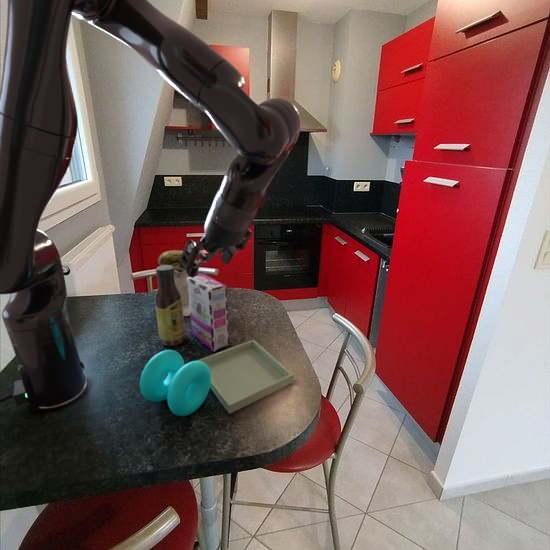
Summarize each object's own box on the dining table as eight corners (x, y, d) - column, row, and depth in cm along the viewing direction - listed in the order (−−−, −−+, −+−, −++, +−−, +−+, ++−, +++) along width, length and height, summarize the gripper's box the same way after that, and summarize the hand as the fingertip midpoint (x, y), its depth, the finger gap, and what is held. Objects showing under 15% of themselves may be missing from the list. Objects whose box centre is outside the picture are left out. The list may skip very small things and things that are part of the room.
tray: (229, 414, 60) (228, 405, 59) (195, 368, 72) (195, 361, 71) (293, 382, 68) (293, 374, 67) (253, 346, 80) (253, 339, 79)
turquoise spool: (179, 430, 56) (173, 385, 53) (140, 409, 61) (132, 366, 57) (216, 395, 64) (212, 353, 61) (179, 378, 69) (174, 339, 65)
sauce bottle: (178, 349, 79) (169, 274, 72) (155, 346, 80) (143, 271, 73) (190, 335, 85) (182, 264, 78) (168, 332, 86) (159, 262, 79)
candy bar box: (230, 345, 81) (227, 285, 75) (213, 353, 78) (208, 291, 71) (207, 327, 88) (203, 272, 82) (191, 334, 85) (185, 276, 79)
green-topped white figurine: (156, 303, 102) (148, 247, 95) (197, 297, 106) (192, 243, 99) (157, 320, 92) (147, 260, 85) (202, 313, 96) (196, 255, 89)
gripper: (249, 192, 61) (224, 245, 73) (184, 206, 52) (168, 264, 64) (273, 220, 59) (243, 270, 71) (209, 240, 50) (188, 293, 62)
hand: (208, 267), depth 68 cm, fingers open, 8 cm apart
